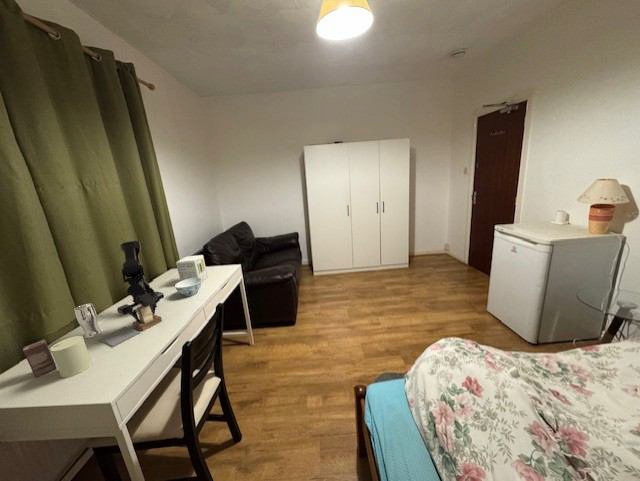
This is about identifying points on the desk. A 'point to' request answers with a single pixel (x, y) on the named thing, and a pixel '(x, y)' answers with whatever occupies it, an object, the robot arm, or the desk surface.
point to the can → (71, 356)
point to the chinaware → (188, 286)
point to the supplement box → (192, 268)
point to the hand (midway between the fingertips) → (146, 318)
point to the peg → (144, 314)
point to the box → (39, 358)
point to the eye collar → (147, 325)
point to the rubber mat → (119, 336)
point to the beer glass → (87, 320)
